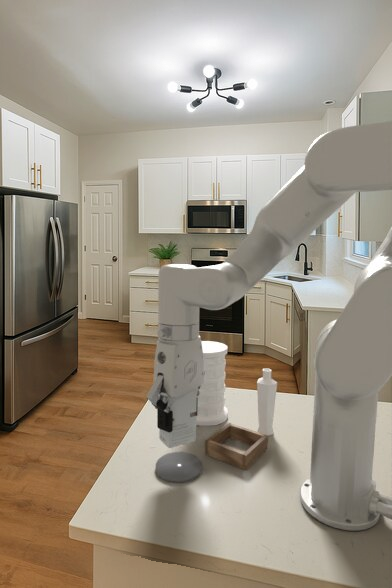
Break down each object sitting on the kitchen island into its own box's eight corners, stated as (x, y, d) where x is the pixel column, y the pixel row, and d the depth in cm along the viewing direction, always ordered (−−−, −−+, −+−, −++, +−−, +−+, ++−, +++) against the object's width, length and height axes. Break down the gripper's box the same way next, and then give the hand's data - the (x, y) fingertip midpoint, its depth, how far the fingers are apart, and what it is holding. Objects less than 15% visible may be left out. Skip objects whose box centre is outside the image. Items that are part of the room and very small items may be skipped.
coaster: (211, 465, 75) (211, 461, 75) (182, 489, 68) (182, 484, 68) (175, 450, 80) (175, 447, 80) (145, 471, 73) (145, 467, 73)
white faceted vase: (251, 428, 90) (252, 367, 88) (267, 426, 91) (269, 365, 89) (260, 438, 85) (262, 374, 83) (277, 435, 87) (279, 372, 85)
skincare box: (169, 449, 70) (169, 386, 68) (158, 439, 73) (158, 378, 72) (197, 440, 73) (198, 380, 71) (185, 430, 77) (185, 373, 75)
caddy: (267, 448, 81) (268, 435, 81) (245, 470, 73) (246, 455, 73) (229, 435, 87) (229, 422, 86) (205, 453, 79) (205, 440, 79)
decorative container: (176, 422, 93) (176, 351, 90) (189, 403, 104) (189, 339, 101) (223, 428, 90) (225, 354, 87) (231, 408, 101) (232, 342, 99)
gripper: (163, 344, 61) (163, 448, 64) (221, 326, 75) (219, 411, 77) (130, 337, 65) (131, 434, 68) (190, 321, 79) (189, 402, 82)
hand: (178, 421), depth 73 cm, fingers closed on skincare box, 7 cm apart
